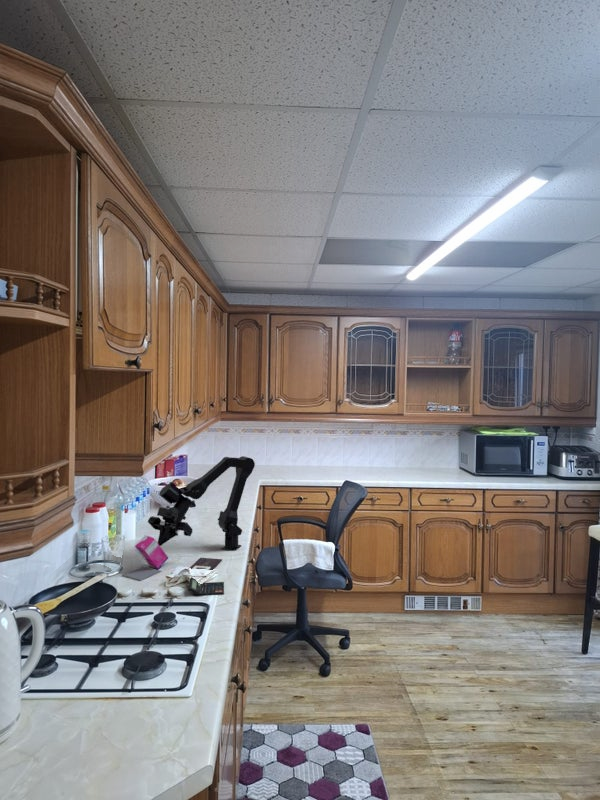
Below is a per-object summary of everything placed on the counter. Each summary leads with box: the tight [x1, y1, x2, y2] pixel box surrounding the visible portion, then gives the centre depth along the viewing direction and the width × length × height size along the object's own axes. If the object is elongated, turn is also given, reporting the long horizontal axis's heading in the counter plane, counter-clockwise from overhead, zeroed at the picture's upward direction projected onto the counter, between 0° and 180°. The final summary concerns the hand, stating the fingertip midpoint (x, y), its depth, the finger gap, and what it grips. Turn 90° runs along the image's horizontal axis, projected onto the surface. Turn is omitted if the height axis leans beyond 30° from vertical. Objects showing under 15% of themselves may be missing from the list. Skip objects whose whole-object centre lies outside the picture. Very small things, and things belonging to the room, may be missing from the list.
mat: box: [121, 566, 162, 582], centre depth 176 cm, size 10×9×1 cm
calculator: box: [187, 576, 225, 597], centre depth 163 cm, size 9×12×3 cm
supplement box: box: [134, 534, 169, 570], centre depth 181 cm, size 6×6×12 cm
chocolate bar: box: [189, 557, 223, 571], centre depth 183 cm, size 9×1×18 cm
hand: (158, 545), depth 184 cm, fingers closed
